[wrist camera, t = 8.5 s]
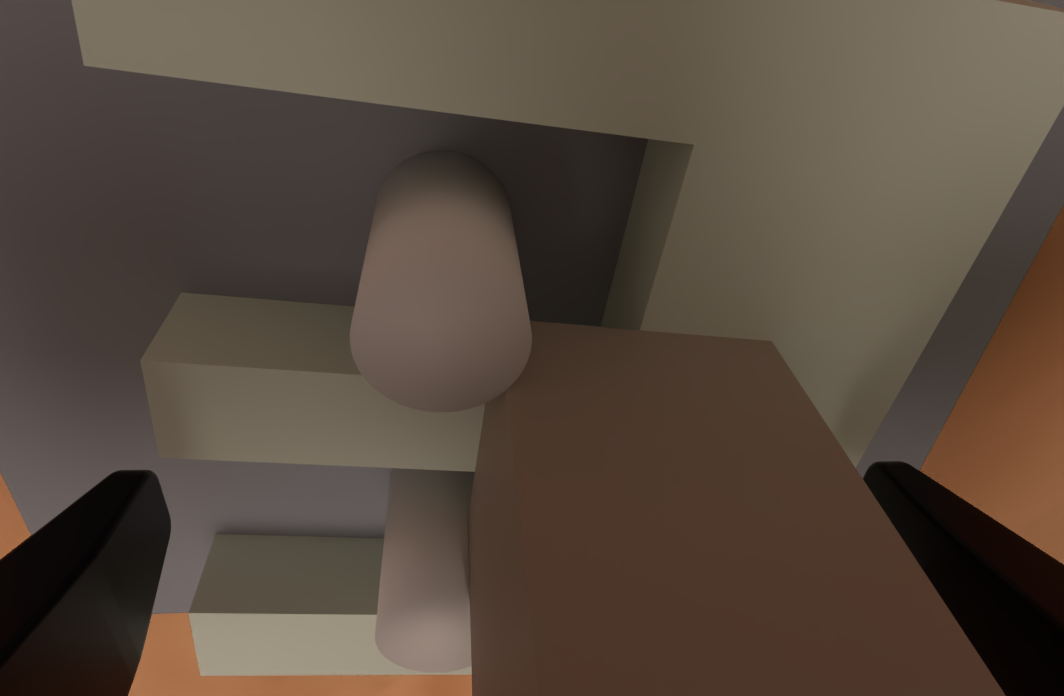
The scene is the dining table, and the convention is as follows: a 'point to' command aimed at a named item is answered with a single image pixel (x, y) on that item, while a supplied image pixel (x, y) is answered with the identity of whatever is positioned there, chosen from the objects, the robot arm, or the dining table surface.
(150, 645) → the dining table surface
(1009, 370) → the dining table surface
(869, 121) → the two-prong bracket
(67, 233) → the slate board
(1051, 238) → the dining table surface
